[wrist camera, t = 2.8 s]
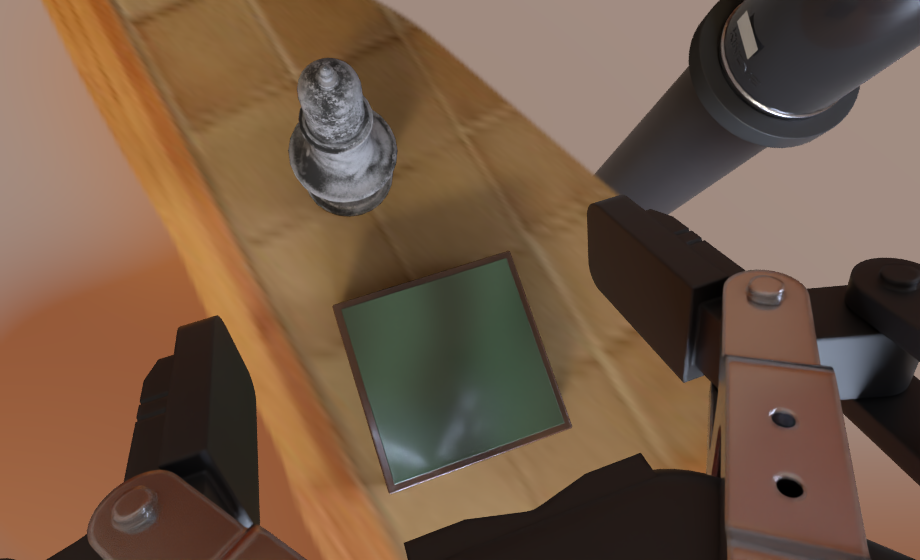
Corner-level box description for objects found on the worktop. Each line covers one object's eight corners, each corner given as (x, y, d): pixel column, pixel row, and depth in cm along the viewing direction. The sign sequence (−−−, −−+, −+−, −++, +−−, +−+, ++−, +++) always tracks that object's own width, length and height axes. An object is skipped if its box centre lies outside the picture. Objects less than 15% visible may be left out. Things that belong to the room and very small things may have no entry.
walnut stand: (499, 263, 36) (510, 248, 32) (556, 424, 34) (574, 427, 31) (338, 314, 34) (331, 304, 31) (390, 485, 33) (389, 495, 29)
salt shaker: (407, 142, 37) (411, 23, 25) (384, 231, 35) (377, 149, 24) (313, 119, 36) (273, -14, 25) (287, 208, 35) (231, 112, 23)
